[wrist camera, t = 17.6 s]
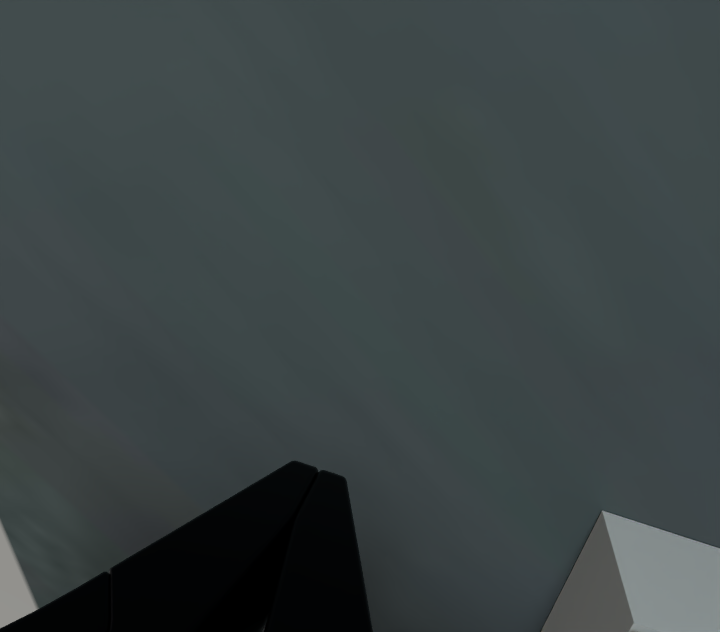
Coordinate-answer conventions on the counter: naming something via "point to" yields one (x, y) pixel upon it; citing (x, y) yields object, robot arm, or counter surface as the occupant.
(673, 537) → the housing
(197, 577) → the robot arm
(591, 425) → the counter surface
